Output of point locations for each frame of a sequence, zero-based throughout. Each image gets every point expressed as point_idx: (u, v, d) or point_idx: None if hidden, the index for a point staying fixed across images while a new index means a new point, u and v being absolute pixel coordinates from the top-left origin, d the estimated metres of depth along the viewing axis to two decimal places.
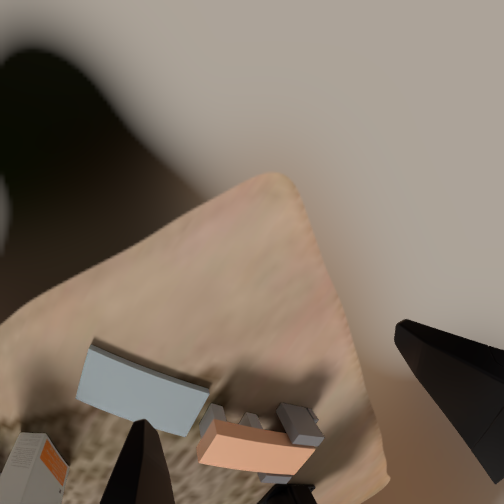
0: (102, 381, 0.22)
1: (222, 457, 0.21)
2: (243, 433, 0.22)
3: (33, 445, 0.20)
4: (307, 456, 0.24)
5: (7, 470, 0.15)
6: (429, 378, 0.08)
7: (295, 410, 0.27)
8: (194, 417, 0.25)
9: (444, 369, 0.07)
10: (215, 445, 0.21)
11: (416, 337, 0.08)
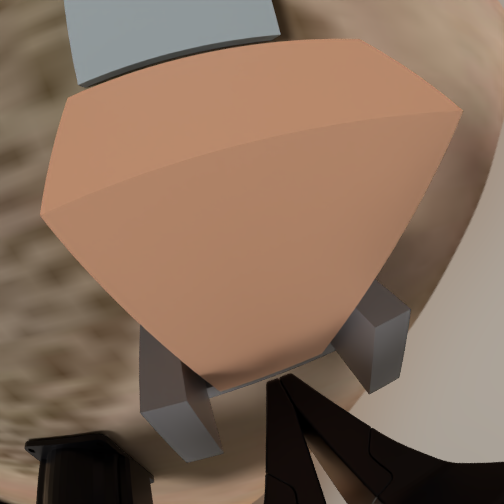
0: None
1: (232, 270, 0.03)
2: None
3: None
4: (295, 363, 0.10)
5: None
6: (310, 443, 0.07)
7: None
8: (173, 47, 0.07)
9: (316, 441, 0.07)
10: (360, 158, 0.03)
11: (291, 399, 0.08)
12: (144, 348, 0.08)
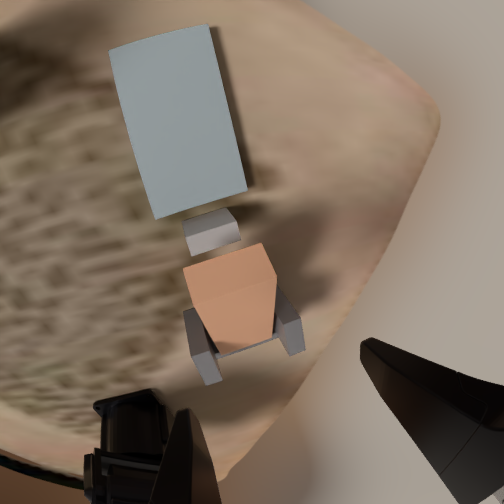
0: (169, 61, 0.14)
1: (225, 309, 0.15)
2: None
3: None
4: (258, 341, 0.22)
5: None
6: (394, 400, 0.08)
7: None
8: (198, 202, 0.18)
9: (407, 394, 0.07)
10: (249, 290, 0.14)
11: (379, 358, 0.08)
12: (189, 332, 0.20)
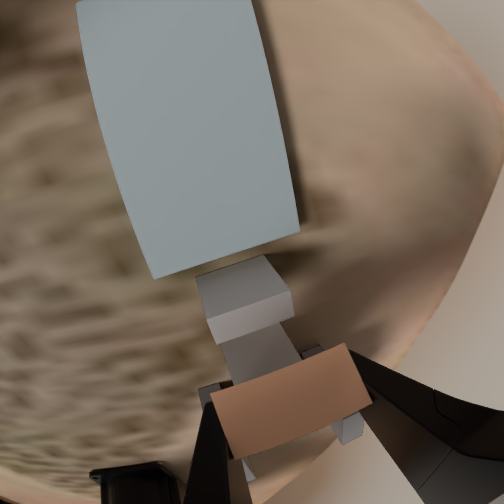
0: (176, 16, 0.08)
1: None
2: None
3: None
4: None
5: None
6: (369, 414, 0.08)
7: None
8: (223, 252, 0.12)
9: (381, 409, 0.07)
10: (325, 424, 0.07)
11: None
12: None
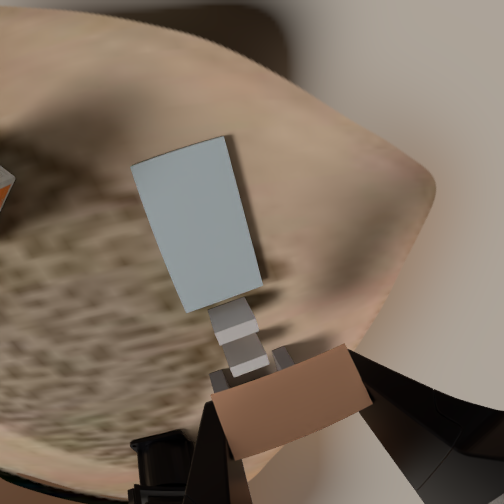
0: (190, 178, 0.18)
1: None
2: None
3: None
4: None
5: None
6: (369, 415, 0.08)
7: None
8: (222, 298, 0.22)
9: (381, 409, 0.07)
10: (325, 425, 0.07)
11: None
12: None
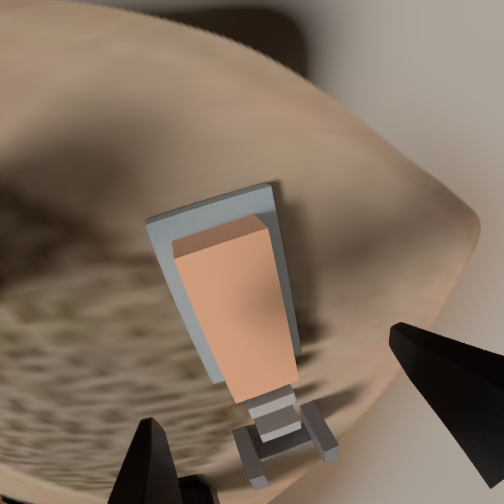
0: None
1: (215, 282, 0.13)
2: None
3: None
4: (281, 384, 0.17)
5: None
6: (424, 382, 0.08)
7: None
8: None
9: (438, 373, 0.07)
10: (238, 248, 0.13)
11: (410, 340, 0.08)
12: (242, 455, 0.20)
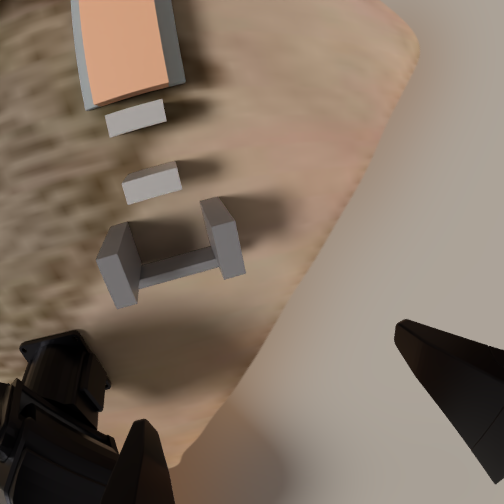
0: None
1: None
2: None
3: None
4: (146, 82, 0.13)
5: None
6: (429, 378, 0.08)
7: None
8: None
9: (444, 369, 0.07)
10: None
11: (416, 337, 0.08)
12: (106, 241, 0.16)
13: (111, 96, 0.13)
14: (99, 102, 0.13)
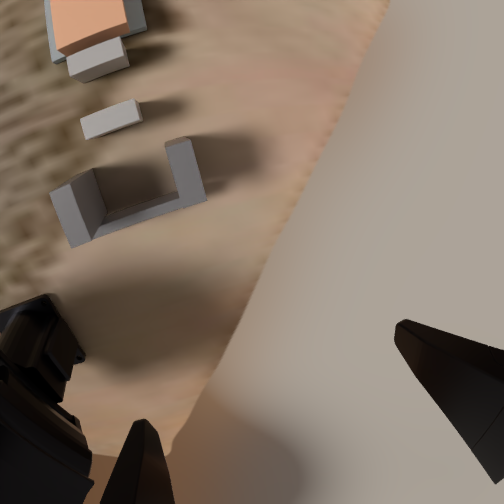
0: None
1: None
2: None
3: None
4: (106, 24, 0.11)
5: None
6: (429, 378, 0.08)
7: None
8: None
9: (444, 369, 0.07)
10: None
11: (416, 337, 0.08)
12: (65, 182, 0.14)
13: (73, 40, 0.11)
14: (62, 47, 0.11)
